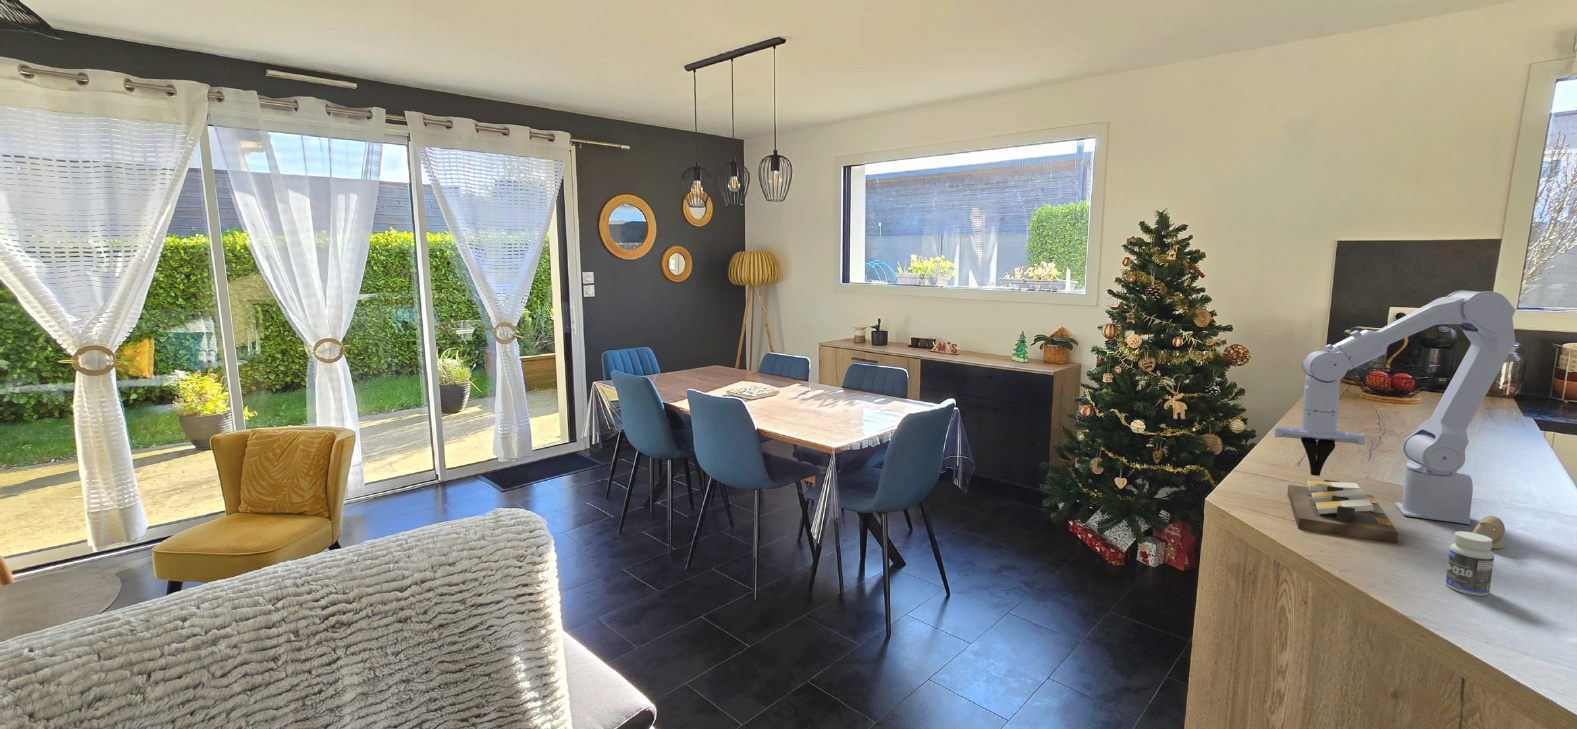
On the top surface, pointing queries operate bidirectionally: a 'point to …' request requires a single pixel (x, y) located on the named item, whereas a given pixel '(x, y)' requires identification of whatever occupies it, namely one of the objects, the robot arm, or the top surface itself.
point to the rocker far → (1323, 485)
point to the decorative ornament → (1491, 530)
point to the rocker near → (1344, 505)
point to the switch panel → (1340, 516)
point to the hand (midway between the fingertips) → (1315, 474)
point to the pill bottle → (1470, 564)
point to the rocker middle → (1327, 496)
